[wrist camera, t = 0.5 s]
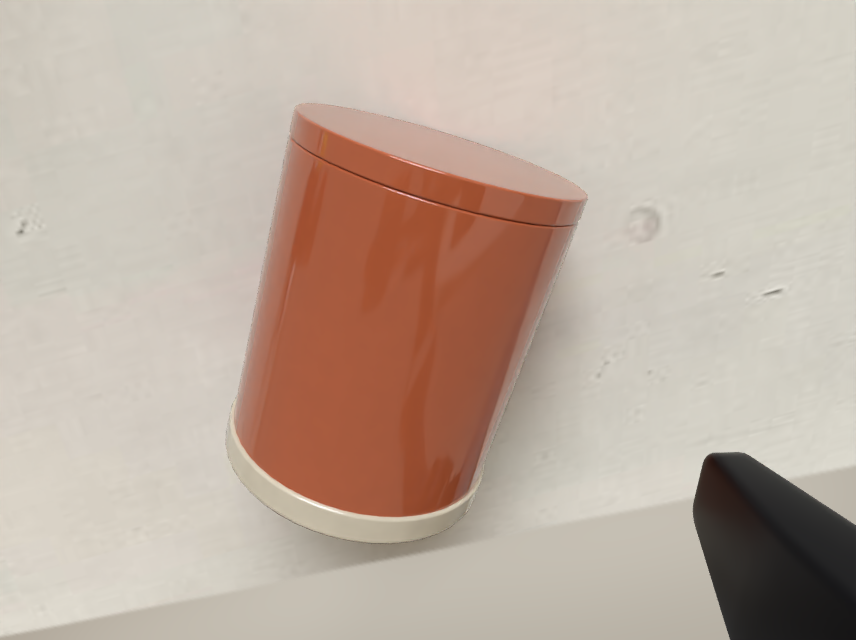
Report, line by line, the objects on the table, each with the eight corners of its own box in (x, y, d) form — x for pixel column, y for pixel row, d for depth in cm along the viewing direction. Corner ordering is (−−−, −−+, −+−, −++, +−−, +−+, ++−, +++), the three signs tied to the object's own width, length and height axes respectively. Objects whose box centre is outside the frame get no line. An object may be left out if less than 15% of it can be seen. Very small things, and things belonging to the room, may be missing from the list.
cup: (472, 420, 22) (478, 579, 15) (268, 363, 22) (178, 500, 15) (566, 169, 19) (627, 228, 12) (326, 95, 18) (244, 112, 11)
